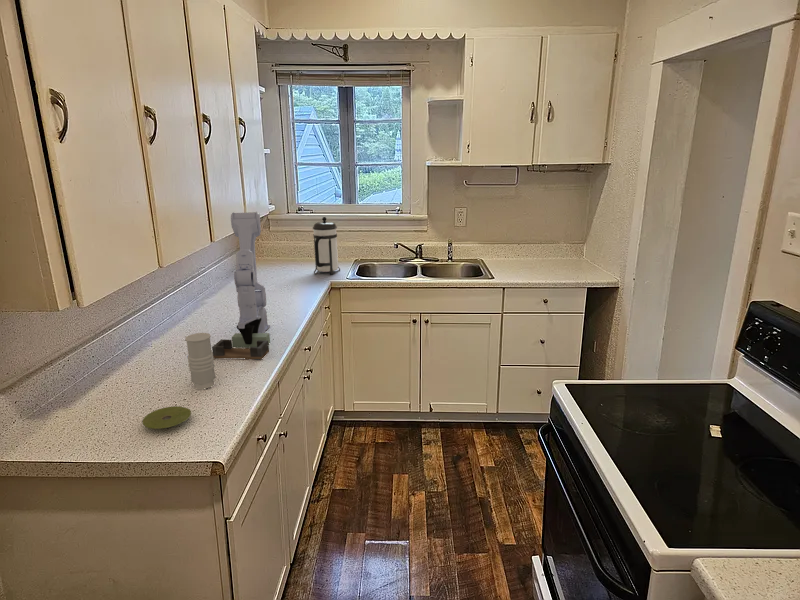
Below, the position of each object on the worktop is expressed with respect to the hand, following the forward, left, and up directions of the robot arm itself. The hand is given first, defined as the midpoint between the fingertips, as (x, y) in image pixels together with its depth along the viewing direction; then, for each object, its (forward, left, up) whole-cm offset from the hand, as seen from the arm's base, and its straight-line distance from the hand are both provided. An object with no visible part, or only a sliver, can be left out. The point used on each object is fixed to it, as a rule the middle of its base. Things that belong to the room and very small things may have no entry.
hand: (251, 341), depth 184 cm
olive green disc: (+54, -1, -2) cm, 54 cm away
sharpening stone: (0, 0, -2) cm, 2 cm away
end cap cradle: (+9, 0, -1) cm, 9 cm away
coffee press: (-107, +1, -2) cm, 107 cm away
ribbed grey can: (+32, -2, -2) cm, 32 cm away
